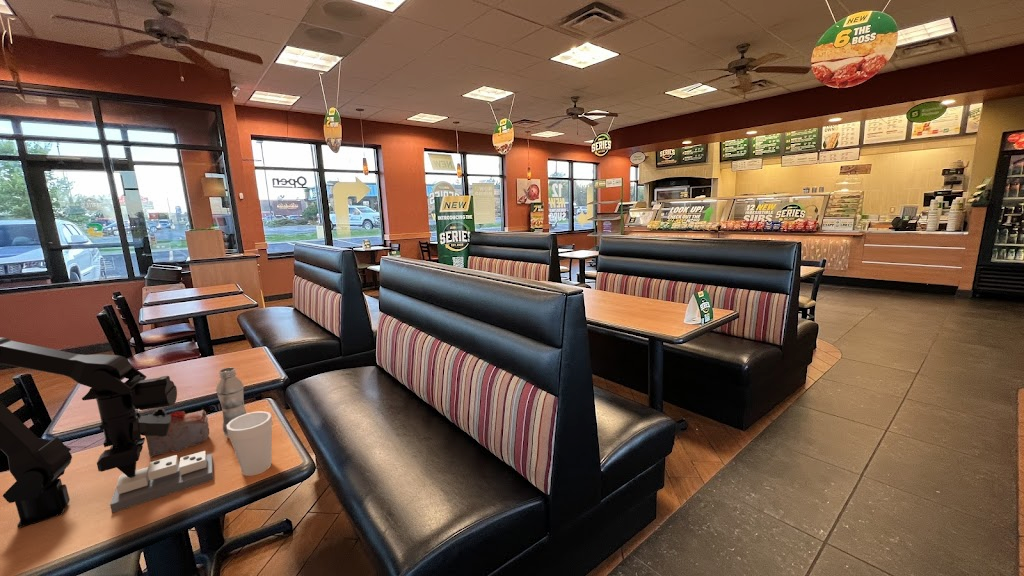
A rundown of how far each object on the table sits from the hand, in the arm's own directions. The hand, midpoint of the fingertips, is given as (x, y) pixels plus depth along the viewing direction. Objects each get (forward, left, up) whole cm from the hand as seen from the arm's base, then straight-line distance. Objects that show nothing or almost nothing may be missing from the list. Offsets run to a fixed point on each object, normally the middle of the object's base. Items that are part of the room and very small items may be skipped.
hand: (132, 475), depth 95 cm
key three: (+11, 0, -2) cm, 11 cm away
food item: (+7, +19, -5) cm, 21 cm away
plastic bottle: (+21, +16, -5) cm, 27 cm away
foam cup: (+24, -6, -5) cm, 25 cm away
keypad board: (+6, 0, -5) cm, 7 cm away
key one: (0, 0, -2) cm, 2 cm away
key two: (+6, 0, -1) cm, 6 cm away
